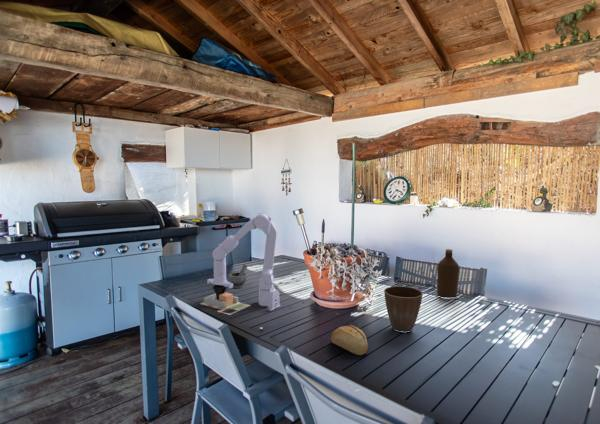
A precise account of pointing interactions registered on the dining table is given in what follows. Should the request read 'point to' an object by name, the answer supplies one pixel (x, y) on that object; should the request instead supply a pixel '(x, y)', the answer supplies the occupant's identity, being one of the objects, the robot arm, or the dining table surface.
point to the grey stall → (217, 303)
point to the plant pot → (402, 306)
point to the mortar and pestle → (239, 277)
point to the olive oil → (447, 276)
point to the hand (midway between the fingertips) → (220, 300)
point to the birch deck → (234, 306)
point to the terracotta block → (226, 298)
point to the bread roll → (350, 339)
